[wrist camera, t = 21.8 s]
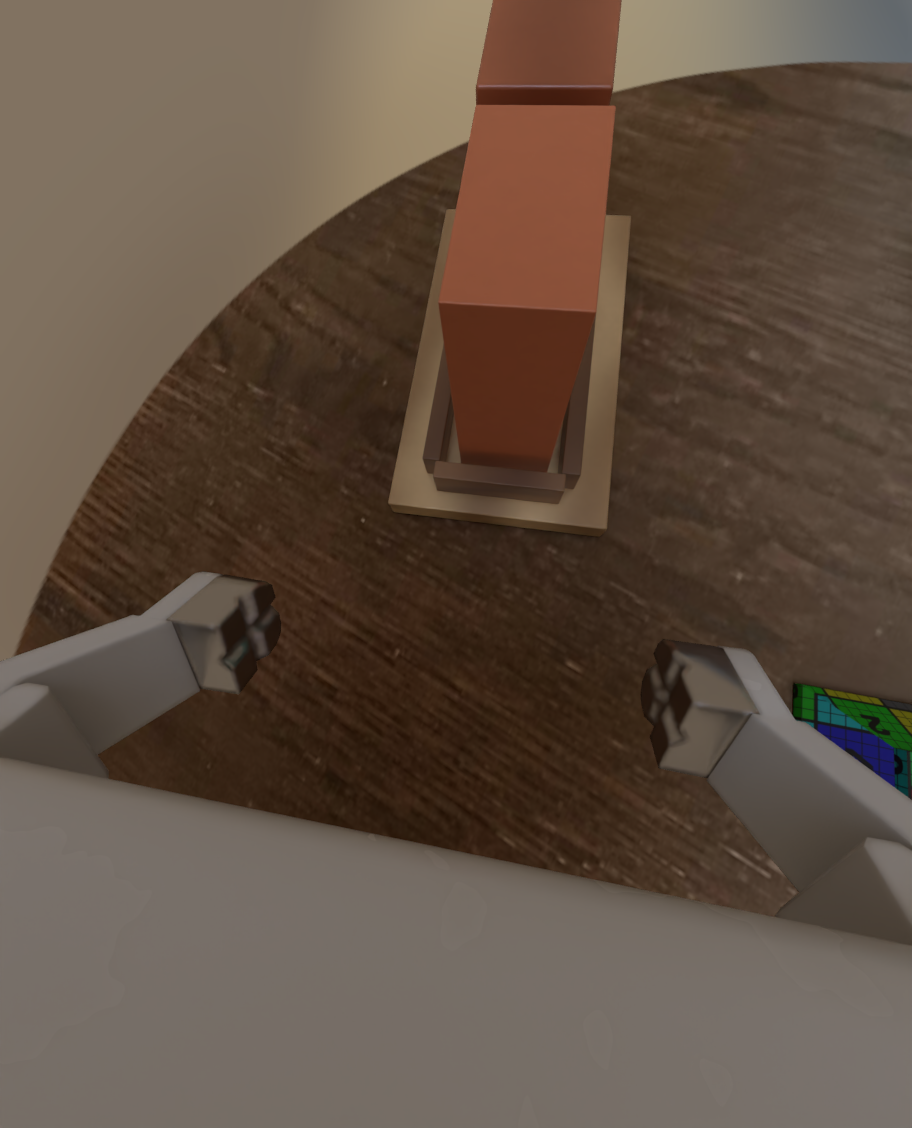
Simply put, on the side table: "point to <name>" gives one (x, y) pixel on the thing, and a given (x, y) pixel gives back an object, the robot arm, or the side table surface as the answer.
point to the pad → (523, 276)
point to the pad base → (585, 442)
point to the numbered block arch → (862, 729)
